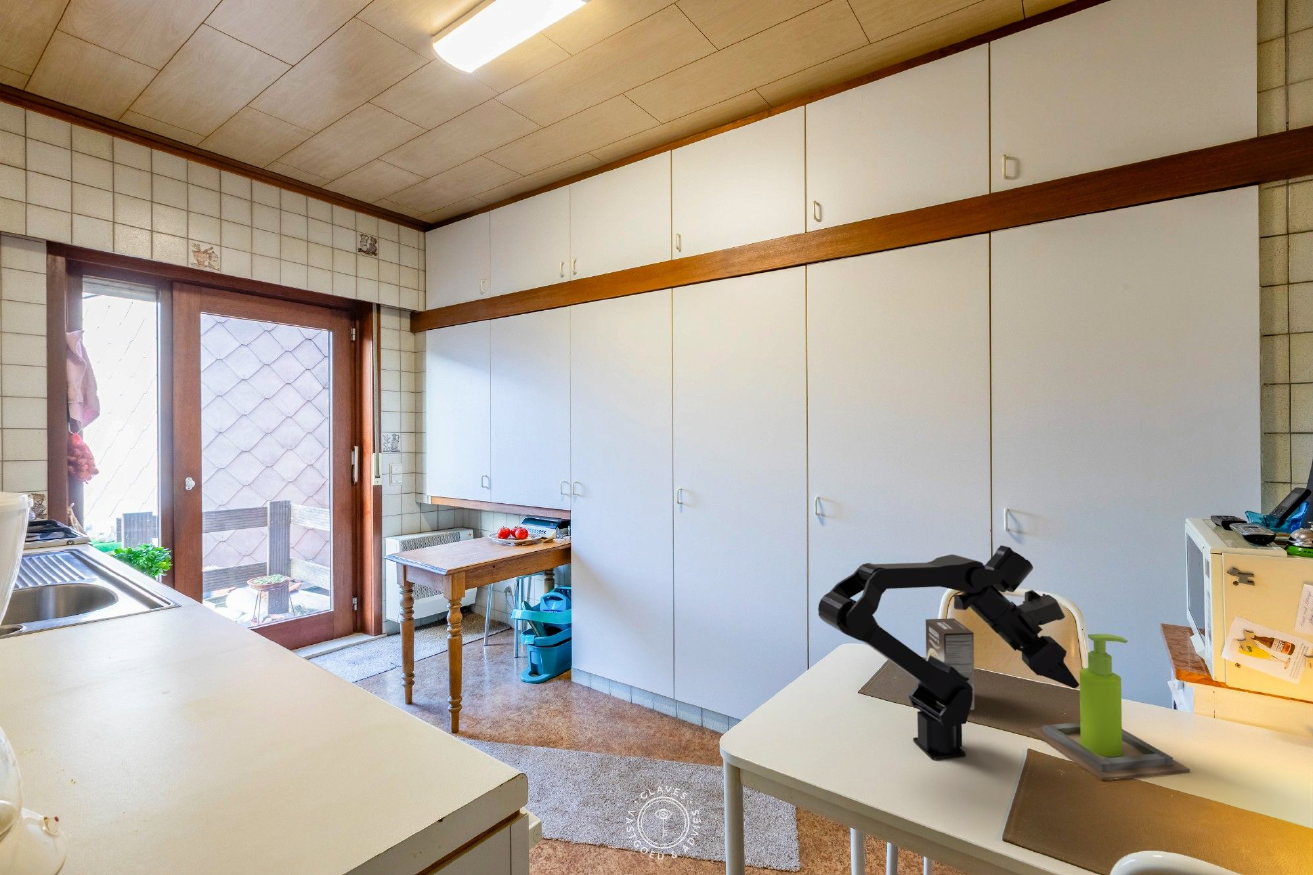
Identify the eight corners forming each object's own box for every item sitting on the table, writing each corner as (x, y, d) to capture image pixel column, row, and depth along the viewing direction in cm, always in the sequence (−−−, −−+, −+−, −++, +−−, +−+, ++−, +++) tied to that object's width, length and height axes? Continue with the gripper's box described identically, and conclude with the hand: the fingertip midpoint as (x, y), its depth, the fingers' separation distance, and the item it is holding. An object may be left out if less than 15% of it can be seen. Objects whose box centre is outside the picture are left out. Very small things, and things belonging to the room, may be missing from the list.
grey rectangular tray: (1101, 780, 97) (1101, 770, 97) (1029, 731, 113) (1029, 722, 113) (1190, 771, 98) (1189, 761, 98) (1106, 724, 114) (1106, 715, 114)
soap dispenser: (1136, 759, 102) (1135, 642, 101) (1091, 755, 103) (1089, 640, 103) (1117, 741, 107) (1115, 630, 107) (1074, 738, 109) (1072, 629, 108)
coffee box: (925, 691, 130) (923, 618, 130) (954, 690, 130) (953, 617, 130) (944, 711, 121) (943, 632, 121) (976, 710, 121) (975, 631, 121)
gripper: (1051, 595, 98) (1130, 666, 96) (1013, 568, 117) (1078, 628, 114) (999, 639, 101) (1074, 710, 98) (969, 606, 119) (1032, 666, 116)
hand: (1065, 675), depth 107 cm, fingers open, 9 cm apart
